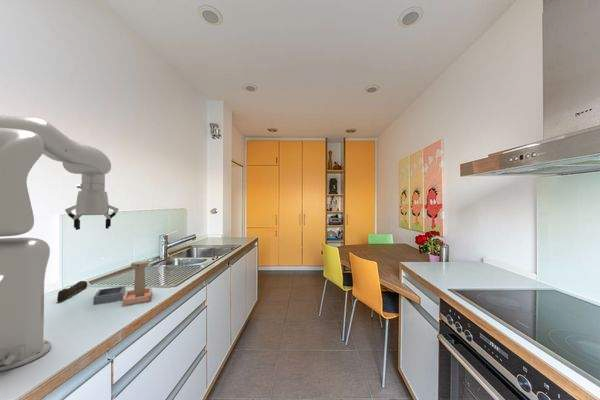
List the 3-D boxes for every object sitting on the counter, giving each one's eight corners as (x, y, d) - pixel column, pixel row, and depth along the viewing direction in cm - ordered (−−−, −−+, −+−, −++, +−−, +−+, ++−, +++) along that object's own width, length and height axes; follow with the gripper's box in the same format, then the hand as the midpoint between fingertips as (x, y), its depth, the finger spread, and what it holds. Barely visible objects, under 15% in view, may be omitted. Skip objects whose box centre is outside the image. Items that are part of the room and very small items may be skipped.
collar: (122, 300, 104) (122, 293, 104) (93, 304, 99) (93, 297, 99) (125, 292, 113) (125, 286, 113) (99, 296, 109) (99, 289, 109)
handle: (146, 299, 104) (146, 263, 104) (128, 300, 102) (129, 264, 102) (150, 294, 108) (150, 260, 109) (133, 296, 107) (133, 261, 107)
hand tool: (77, 289, 118) (77, 279, 118) (87, 288, 119) (87, 278, 119) (49, 305, 100) (49, 293, 100) (61, 303, 101) (61, 292, 101)
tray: (150, 301, 103) (150, 295, 103) (122, 306, 98) (122, 300, 98) (151, 292, 113) (151, 287, 113) (126, 296, 108) (126, 291, 108)
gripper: (62, 186, 96) (61, 230, 95) (117, 188, 104) (116, 228, 104) (68, 188, 102) (68, 229, 102) (120, 189, 111) (119, 227, 110)
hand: (92, 228), depth 103 cm, fingers open, 9 cm apart
